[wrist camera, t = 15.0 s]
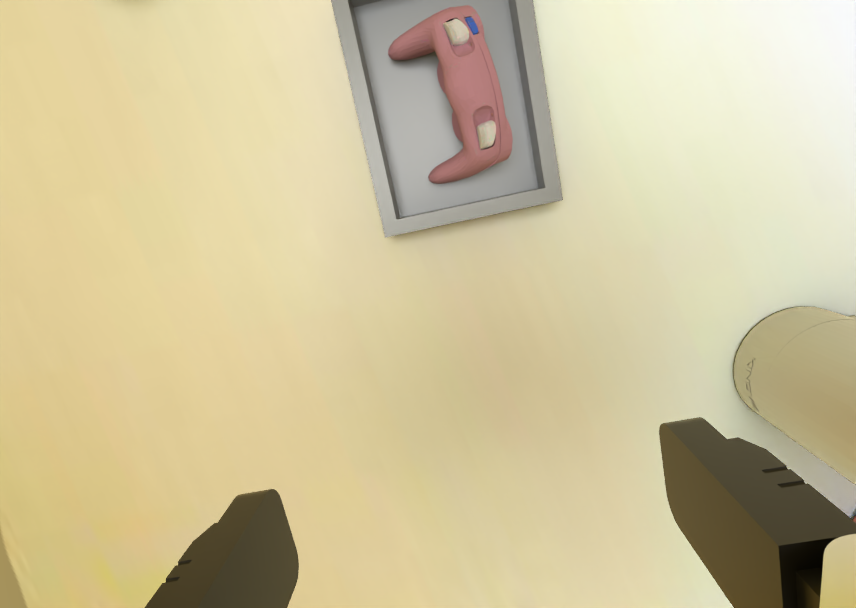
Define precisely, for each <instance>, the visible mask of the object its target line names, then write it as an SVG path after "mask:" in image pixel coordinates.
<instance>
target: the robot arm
mask: <svg viewBox="0 0 856 608" xmlns="http://www.w3.org/2000/svg"><path fill="white" fill-rule="evenodd" d="M734 380H735V385H736V389H737V391H738V393H739V395H740V397H741V398H742V400H743V401H744V402H745V403H746V404H747V406H748V407H749V408H751V409H752V410H753V411H755V412H756V413H758V414H759V415H760V416H762V417H763V418H764V419H766V420H767V421H768V422H770V423H771V424H772V425H774V426H775V427H777V428H778V429H779V430H781V431H782V432H783V433H784V434H786V435H787V436H788V437H790V438H791V439H793V440H794V441H795V442H797V443H798V444H800V445H801V446H802V447H804V448H805V449H806V450H808V451H809V452H811V453H812V454H813V455H815V456H816V457H817V458H819V459H820V460H822V461H823V462H824V463H826V464H827V465H829V466H830V467H831V468H833V469H834V470H835V471H837V472H838V473H840V474H841V475H842V476H844V477H845V478H846V479H848V480H849V481H851V482H852V483H853V484H855V485H856V316H850V317H848V316H845V315H842V314H838V313H835V312H832V311H829V310H825V309H821V308H817V307H802V306H800V307H794V308H789V309H785V310H782V311H780V312H777V313H774V314H772V315H771V316H769V317H767V318H766V319H764V320H762V321H761V322H760V323H759V324H758V325H756V326H755V327H754V328H753V329H752V330H751V331H750V332H749V334H748V335H747V336H746V337H745V339H744V340H743V342H742V344H741V346H740V348H739V350H738V352H737V355H736V359H735V363H734ZM659 435H660V444H661V452H662V460H663V468H664V476H665V484H666V492H667V498H668V502H669V505H670V508H671V511H672V514H673V516H674V519H675V521H676V523H677V525H678V526H679V528H680V530H681V531H682V532H683V534H684V535H685V537H686V538H687V540H688V541H689V543H690V544H691V546H692V547H693V549H694V550H695V551H696V553H697V554H698V556H699V557H700V559H701V560H702V562H703V563H704V565H705V566H706V568H707V569H708V571H709V572H710V573H711V575H712V576H713V578H714V579H715V581H716V582H717V584H718V585H719V587H720V588H721V590H722V591H723V592H724V594H725V595H726V597H727V598H728V600H729V601H730V603H731V604H732V606H733V607H734V608H856V522H854V521H853V520H852V519H851V518H850V517H848V516H847V515H846V514H845V513H843V512H842V511H841V510H840V509H839V508H837V507H836V506H835V505H834V504H832V503H831V502H830V501H829V500H827V499H826V498H825V497H824V496H823V495H821V494H820V493H819V492H818V491H816V490H815V489H814V488H813V487H812V486H810V485H809V484H805V483H804V480H803V479H802V478H801V477H799V476H798V475H797V474H796V473H794V472H793V471H792V470H791V469H790V470H788V469H787V466H786V465H785V464H783V463H782V462H781V461H780V460H778V459H777V458H776V457H775V456H774V455H772V454H771V453H770V452H769V451H767V450H766V449H764V448H761V447H759V446H757V445H754V444H752V443H750V442H747V441H745V440H743V439H740V438H733V439H726V438H725V437H724V436H723V435H721V434H720V433H719V432H718V431H717V430H716V429H715V428H714V427H713V426H711V425H710V424H709V423H708V422H707V421H706V420H705V419H703V418H701V417H699V418H693V419H687V420H681V421H675V422H669V423H663V424H661V426H660V430H659ZM298 569H299V564H298V554H297V550H296V546H295V543H294V540H293V537H292V533H291V530H290V527H289V523H288V520H287V517H286V514H285V510H284V507H283V504H282V501H281V498H280V496H279V494H278V492H277V491H276V490H274V489H270V490H264V491H258V492H252V493H247V494H241V495H238V496H237V497H236V498H235V499H234V500H233V502H232V503H231V504H230V506H229V507H228V509H227V510H226V512H225V513H224V515H223V516H222V517H221V519H220V520H219V522H218V523H214V524H213V525H212V526H211V527H210V528H208V529H207V530H206V531H205V532H204V533H203V534H201V535H200V536H199V537H198V538H197V539H196V540H194V541H193V542H192V544H191V545H190V546H189V548H188V549H187V550H186V552H185V553H184V555H183V556H182V557H181V559H180V560H179V561H178V566H175V567H174V568H173V570H172V571H171V572H170V574H169V575H168V576H167V578H166V583H162V585H161V586H160V587H159V589H158V590H157V592H156V593H155V594H154V596H153V597H152V598H151V600H150V601H149V602H148V604H147V605H146V607H145V608H287V606H288V604H289V601H290V599H291V596H292V594H293V591H294V588H295V586H296V583H297V578H298Z"/></svg>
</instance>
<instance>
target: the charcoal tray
mask: <svg viewBox="0 0 856 608" xmlns="http://www.w3.org/2000/svg"><path fill="white" fill-rule="evenodd" d="M331 2H332V6H333V11H334V15H335V20H336V24H337V28H338V33H339V37H340V41H341V46H342V50H343V55H344V59H345V63H346V68H347V72H348V76H349V81H350V85H351V90H352V94H353V98H354V103H355V107H356V111H357V116H358V120H359V125H360V129H361V133H362V138H363V142H364V146H365V151H366V155H367V160H368V164H369V168H370V173H371V177H372V181H373V186H374V190H375V195H376V199H377V203H378V208H379V212H380V216H381V221H382V225H383V229H384V234H385V237H390V236H394V235H399V234H404V233H409V232H413V231H418V230H423V229H428V228H432V227H437V226H442V225H447V224H451V223H456V222H461V221H466V220H470V219H475V218H480V217H484V216H489V215H494V214H499V213H503V212H508V211H513V210H518V209H522V208H527V207H532V206H537V205H541V204H546V203H551V202H556V201H560V200H563V197H562V191H561V184H560V177H559V171H558V164H557V158H556V151H555V144H554V138H553V131H552V125H551V118H550V111H549V105H548V98H547V92H546V85H545V78H544V72H543V65H542V59H541V52H540V45H539V39H538V32H537V26H536V19H535V12H534V6H533V0H331ZM465 5H469V6H471V7H473V8H474V9H475V10H476V11H477V13H478V15H479V17H480V19H481V21H482V24H483V29H484V37H485V42H486V44H487V47H488V49H489V52H490V54H491V57H492V60H493V63H494V66H495V69H496V72H497V76H498V80H499V84H500V88H501V92H502V97H503V103H504V109H505V116H506V117H507V120H508V122H509V124H510V127H511V130H512V137H513V142H512V151H511V154H510V156H509V158H508V159H507V160H505V161H502V162H500V163H497V164H494V165H493V166H491V167H489V168H487V169H485V170H483V171H481V172H479V173H477V174H475V175H473V176H471V177H468V178H464V179H461V180H458V181H454V182H449V183H442V184H436V183H432V182H430V181H429V179H428V176H429V174H430V172H431V171H432V170H433V169H434V168H435V167H436V166H437V165H439V164H441V163H443V162H445V161H446V160H448V159H450V158H452V157H453V156H455V155H456V154H457V153H459V152H460V151H461V150H462V148H463V142H461V141H460V140H459V139H458V138H457V137H456V135H455V133H454V130H453V125H452V113H453V109H452V107H451V105H450V103H449V100H448V98H447V96H446V94H445V93H444V92H443V90H442V88H441V87H440V84H439V81H438V76H437V67H438V63H439V59H438V57H437V55H436V52H435V51H434V52H432V53H429V54H426V55H423V56H420V57H416V58H413V59H407V60H393V59H391V58H390V57H389V55H388V50H389V47H390V45H391V44H392V43H393V41H394V40H395V39H397V38H398V37H399V36H400V35H402V34H403V33H405V32H406V31H408V30H409V29H411V28H412V27H414V26H415V25H417V24H418V23H420V22H421V21H423V20H425V19H426V18H428V17H430V16H432V15H433V14H435V13H437V12H439V11H441V10H444V9H446V8H449V7H458V6H465Z"/></svg>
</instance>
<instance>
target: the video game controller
mask: <svg viewBox="0 0 856 608" xmlns="http://www.w3.org/2000/svg"><path fill="white" fill-rule="evenodd" d="M434 51H435V52H436V55H437V57H438V59H439V63H438V67H437V76H438V81H439V84H440V87H441V88H442V90H443V92H444V93H445V94H446V96H447V98H448V100H449V103H450V105H451V107H452V109H453V113H452V125H453V130H454V133H455V135H456V137H457V138H458V139H459V140H460V141H461V142H463V148H462V150H461V151H460V152H459V153H457V154H456V155H455V156H453V157H452V158H450V159H448V160H446V161H445V162H443V163H441V164H439V165H437V166H436V167H435V168H434V169H433V170H432V171H431V172H430V174H429V176H428V179H429V181H430V182H432V183H436V184H442V183H449V182H454V181H458V180H461V179H464V178H468V177H471V176H473V175H475V174H477V173H479V172H481V171H483V170H485V169H487V168H489V167H491V166H493V165H494V164H497V163H500V162H502V161H505V160H507V159H508V158H509V156H510V154H511V151H512V142H513V137H512V130H511V127H510V124H509V122H508V120H507V117H506V116H505V109H504V103H503V97H502V92H501V88H500V84H499V80H498V76H497V72H496V69H495V66H494V63H493V60H492V57H491V54H490V52H489V49H488V47H487V44H486V42H485V37H484V29H483V24H482V21H481V19H480V17H479V15H478V13H477V11H476V10H475V9H474V8H473V7H471V6H469V5H465V6H458V7H449V8H446V9H444V10H441V11H439V12H437V13H435V14H433V15H432V16H430V17H428V18H426V19H425V20H423V21H421V22H420V23H418V24H417V25H415V26H414V27H412V28H411V29H409V30H408V31H406V32H405V33H403V34H402V35H400V36H399V37H398V38H397V39H395V40H394V41H393V43H392V44H391V45H390V47H389V50H388V55H389V57H390V58H391V59H393V60H407V59H413V58H416V57H420V56H423V55H426V54H429V53H432V52H434Z"/></svg>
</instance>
